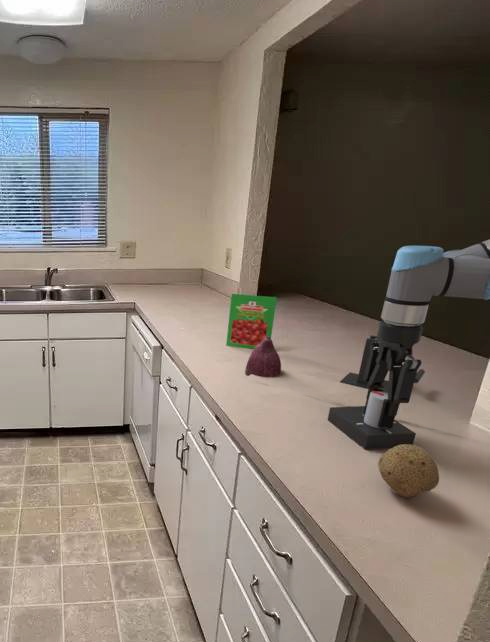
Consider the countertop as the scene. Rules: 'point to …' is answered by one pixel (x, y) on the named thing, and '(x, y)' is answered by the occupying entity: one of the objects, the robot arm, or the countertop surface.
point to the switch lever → (418, 374)
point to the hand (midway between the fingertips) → (377, 420)
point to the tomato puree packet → (250, 320)
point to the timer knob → (375, 408)
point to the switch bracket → (363, 369)
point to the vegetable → (264, 360)
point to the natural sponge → (408, 470)
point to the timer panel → (369, 429)
